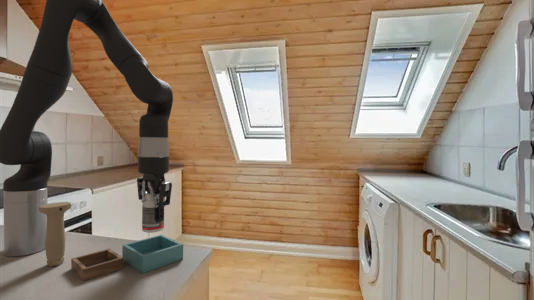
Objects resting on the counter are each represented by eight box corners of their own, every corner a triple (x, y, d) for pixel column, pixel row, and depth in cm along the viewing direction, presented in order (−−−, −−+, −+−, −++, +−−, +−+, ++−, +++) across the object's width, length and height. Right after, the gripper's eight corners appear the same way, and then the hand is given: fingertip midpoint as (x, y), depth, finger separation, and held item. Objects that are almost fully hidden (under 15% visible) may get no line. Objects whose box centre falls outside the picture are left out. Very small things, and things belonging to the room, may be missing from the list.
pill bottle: (166, 231, 73) (166, 193, 72) (144, 234, 70) (144, 195, 69) (161, 225, 77) (161, 190, 77) (140, 228, 74) (140, 192, 74)
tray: (122, 259, 73) (122, 244, 73) (161, 248, 82) (161, 234, 81) (142, 273, 66) (142, 256, 66) (183, 259, 75) (183, 244, 74)
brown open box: (71, 268, 68) (71, 258, 67) (109, 257, 74) (109, 248, 74) (83, 280, 62) (83, 269, 62) (123, 267, 69) (123, 257, 69)
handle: (35, 266, 68) (35, 206, 68) (64, 257, 74) (64, 201, 73) (45, 271, 66) (45, 208, 65) (74, 261, 72) (74, 203, 71)
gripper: (126, 153, 75) (126, 216, 75) (154, 156, 65) (153, 228, 66) (153, 153, 80) (153, 211, 81) (182, 155, 71) (181, 221, 72)
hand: (153, 218), depth 73 cm, fingers closed on pill bottle, 5 cm apart
